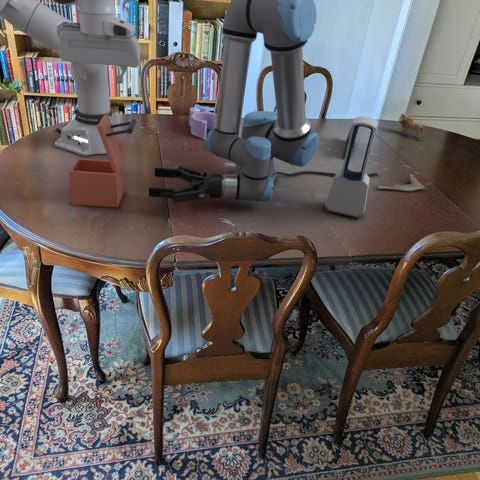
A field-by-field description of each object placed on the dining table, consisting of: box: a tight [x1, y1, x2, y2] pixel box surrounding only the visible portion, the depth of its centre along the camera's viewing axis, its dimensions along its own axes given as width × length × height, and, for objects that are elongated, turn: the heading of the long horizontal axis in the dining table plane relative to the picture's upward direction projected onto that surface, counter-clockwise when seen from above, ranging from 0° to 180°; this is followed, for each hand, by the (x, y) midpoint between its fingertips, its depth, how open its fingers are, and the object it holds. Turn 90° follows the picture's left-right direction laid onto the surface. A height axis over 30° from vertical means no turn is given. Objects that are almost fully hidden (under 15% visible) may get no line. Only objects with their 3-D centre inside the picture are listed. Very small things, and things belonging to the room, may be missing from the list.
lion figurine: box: [398, 113, 425, 141], centre depth 218 cm, size 15×5×9 cm, turn 50°
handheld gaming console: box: [342, 123, 360, 159], centre depth 194 cm, size 23×3×10 cm, turn 161°
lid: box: [97, 115, 137, 173], centre depth 133 cm, size 14×10×9 cm
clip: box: [188, 106, 216, 141], centre depth 199 cm, size 20×12×7 cm, turn 23°
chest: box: [68, 158, 124, 208], centre depth 140 cm, size 13×10×11 cm
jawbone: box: [376, 173, 426, 193], centre depth 169 cm, size 9×20×2 cm, turn 126°
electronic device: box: [324, 115, 379, 219], centre depth 142 cm, size 12×8×30 cm, turn 71°
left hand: (102, 81), depth 124 cm, fingers open, 8 cm apart
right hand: (151, 181), depth 141 cm, fingers open, 13 cm apart
